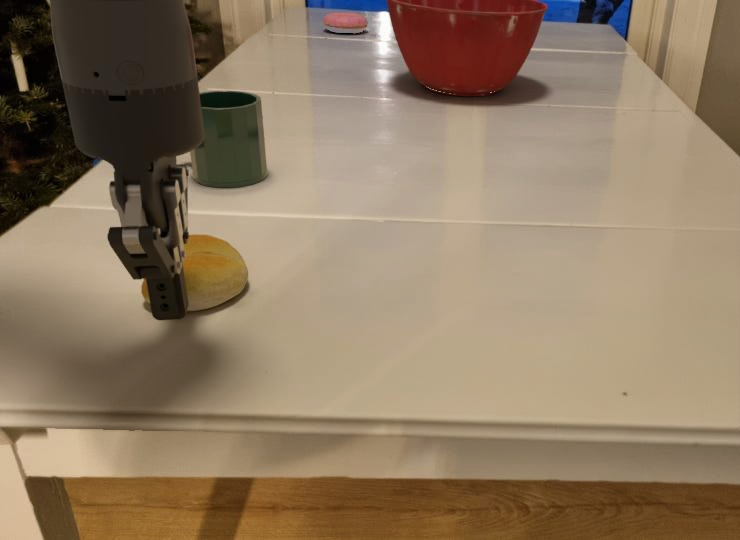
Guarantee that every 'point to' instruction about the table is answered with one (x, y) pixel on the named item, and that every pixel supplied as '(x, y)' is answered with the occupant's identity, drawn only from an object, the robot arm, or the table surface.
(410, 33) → the mixing bowl
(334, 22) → the doughnut
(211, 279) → the bread roll
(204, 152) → the mug
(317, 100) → the table surface
